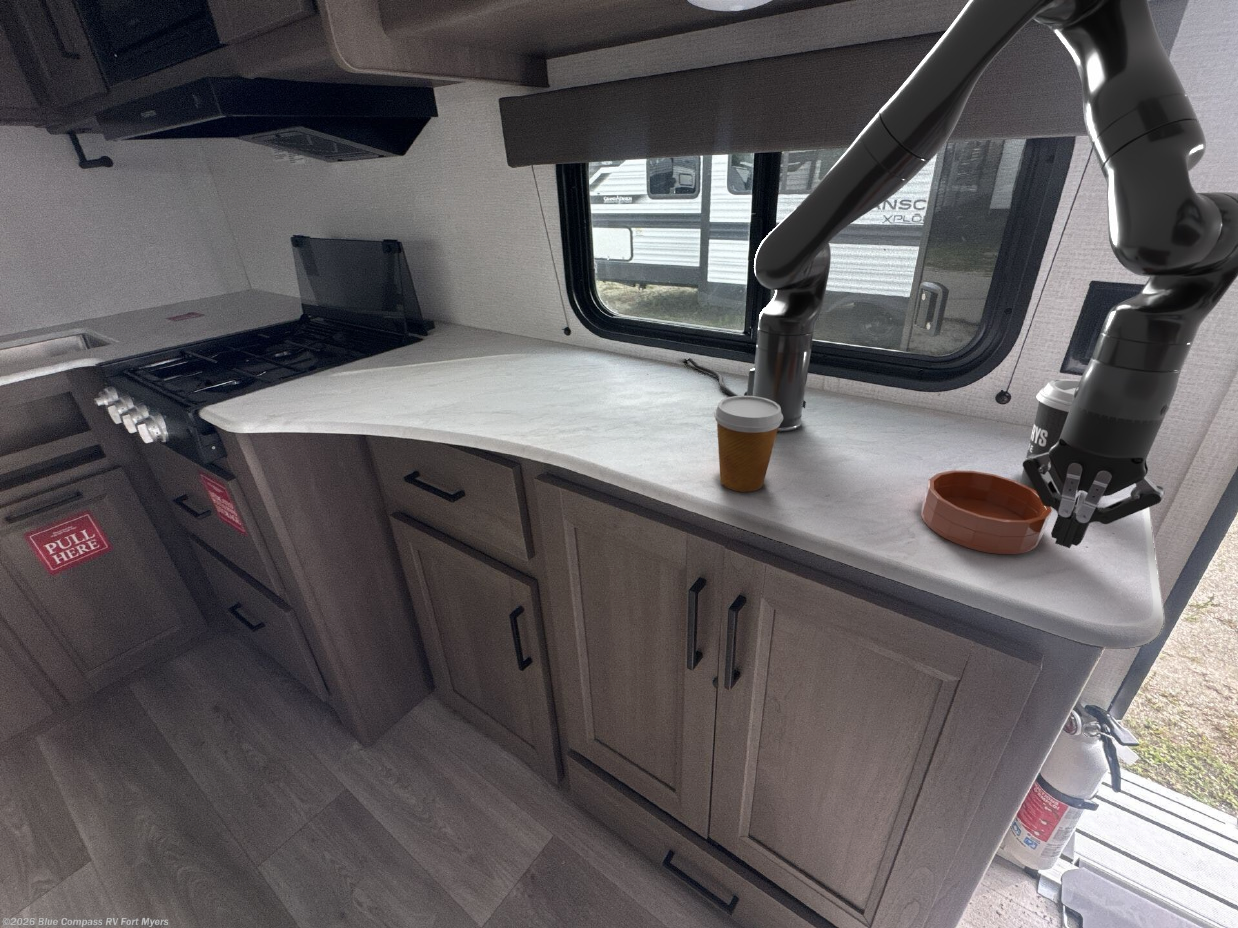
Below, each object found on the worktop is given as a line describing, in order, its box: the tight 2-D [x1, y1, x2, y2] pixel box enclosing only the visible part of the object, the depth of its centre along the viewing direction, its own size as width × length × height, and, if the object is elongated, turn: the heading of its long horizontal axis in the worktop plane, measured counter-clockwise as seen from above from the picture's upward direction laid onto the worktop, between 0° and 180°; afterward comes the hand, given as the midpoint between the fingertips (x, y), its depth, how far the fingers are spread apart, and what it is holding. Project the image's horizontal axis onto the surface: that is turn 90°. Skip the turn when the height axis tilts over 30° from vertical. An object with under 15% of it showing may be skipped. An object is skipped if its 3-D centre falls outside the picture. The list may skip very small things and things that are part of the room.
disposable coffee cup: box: [713, 395, 783, 493], centre depth 81 cm, size 10×10×12 cm
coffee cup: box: [1020, 378, 1081, 495], centre depth 78 cm, size 10×10×15 cm
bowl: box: [920, 469, 1053, 555], centre depth 72 cm, size 13×13×4 cm
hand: (1063, 543), depth 66 cm, fingers closed
